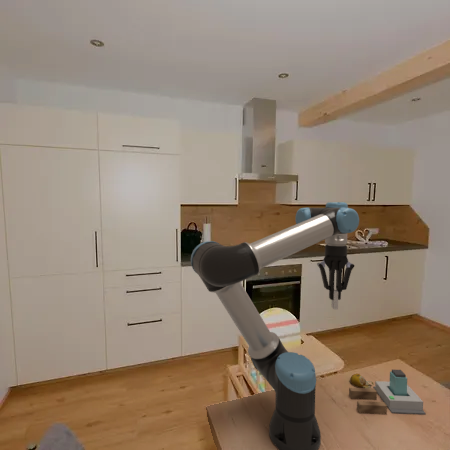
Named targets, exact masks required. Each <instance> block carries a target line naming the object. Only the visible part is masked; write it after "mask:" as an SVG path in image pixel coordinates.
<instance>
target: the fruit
mask: <svg viewBox="0 0 450 450" xmlns="http://www.w3.org/2000/svg"><path fill="white" fill-rule="evenodd" d="M349 382H350V384H351V385H352V386H354V387H355V388H372V387H373V386H372V385H374V382H373V381H371V380H367V379H366V378H365V377H364V376H362V375H361V374H360V373H354V374H352V375H351V376H350V377H349ZM371 386H372V387H371Z"/></svg>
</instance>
